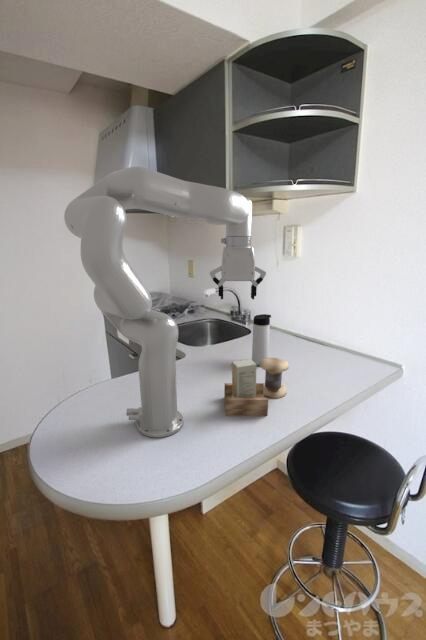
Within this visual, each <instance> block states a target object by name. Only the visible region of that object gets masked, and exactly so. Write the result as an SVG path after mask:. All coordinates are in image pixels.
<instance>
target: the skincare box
mask: <svg viewBox="0 0 426 640" xmlns="http://www.w3.org/2000/svg"><path fill="white" fill-rule="evenodd" d="M231 375H232V376H231V383H232V398H256V383H257V366H256V363H255V362H254V361H252V358H248V359H243V360H242V359H239V360H236V361H235V360H233V361H232V362H231Z"/></svg>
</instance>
